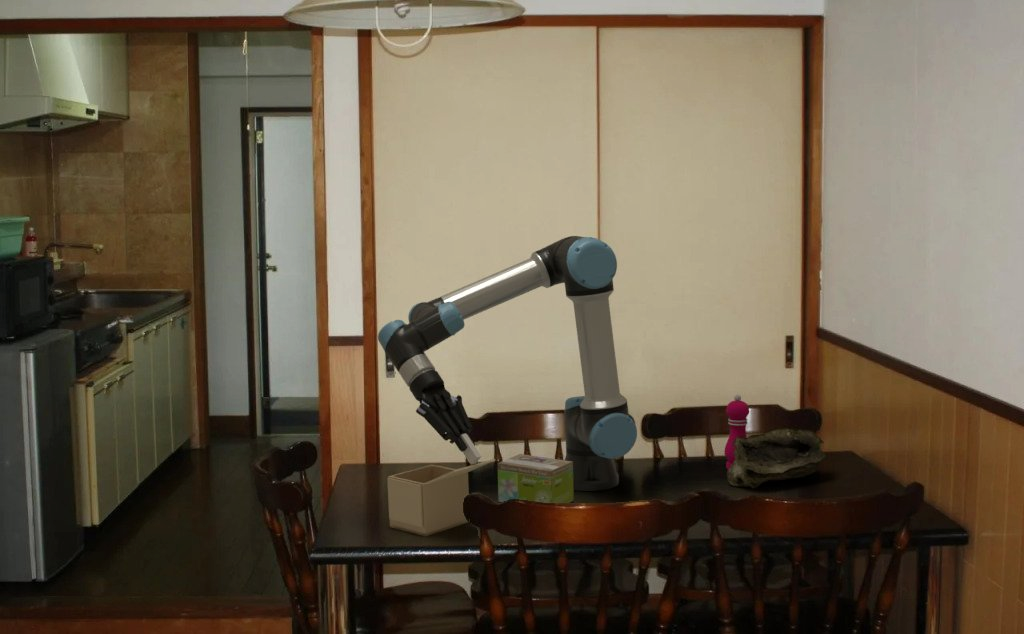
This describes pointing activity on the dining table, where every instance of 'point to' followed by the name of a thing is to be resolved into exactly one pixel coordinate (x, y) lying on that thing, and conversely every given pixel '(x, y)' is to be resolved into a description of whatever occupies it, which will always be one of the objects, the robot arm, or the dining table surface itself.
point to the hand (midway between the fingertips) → (476, 460)
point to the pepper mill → (735, 426)
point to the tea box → (535, 479)
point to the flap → (460, 471)
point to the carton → (426, 500)
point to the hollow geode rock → (774, 456)
